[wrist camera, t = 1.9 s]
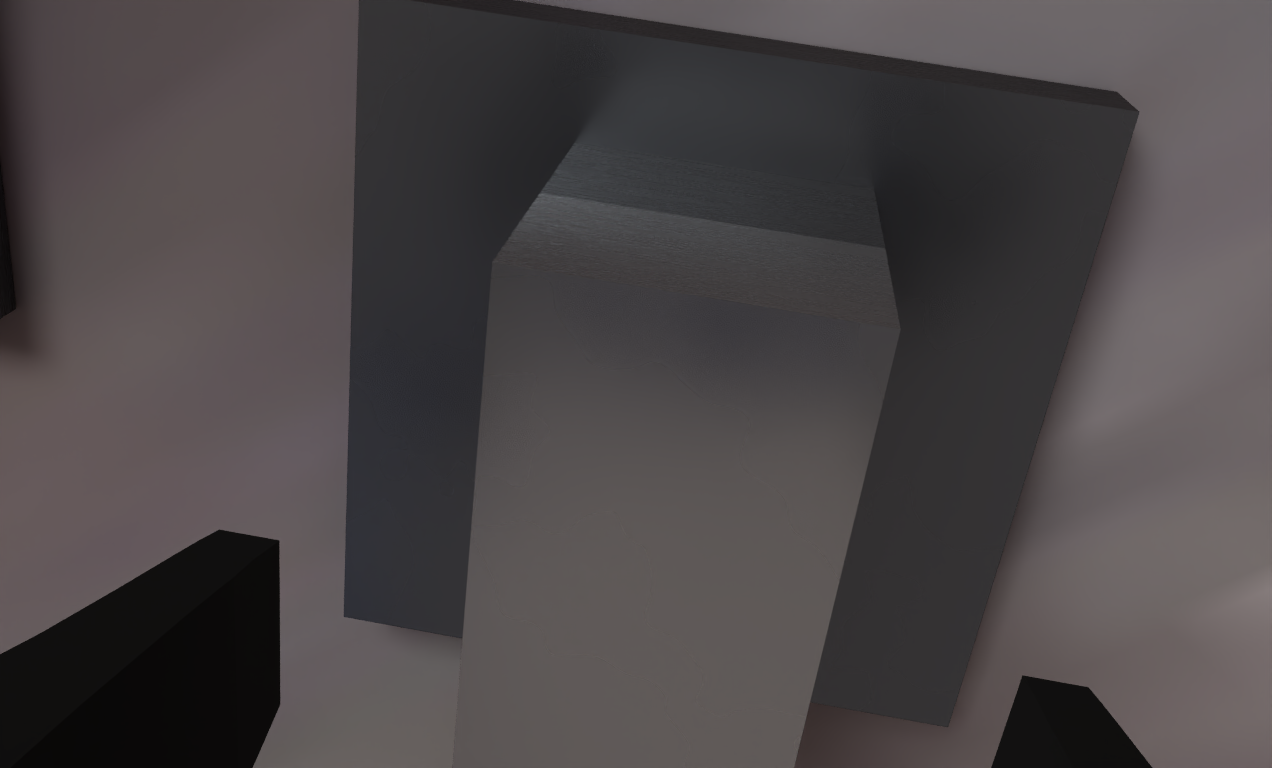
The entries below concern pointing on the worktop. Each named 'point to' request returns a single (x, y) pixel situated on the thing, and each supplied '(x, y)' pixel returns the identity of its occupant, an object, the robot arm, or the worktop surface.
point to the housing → (668, 462)
